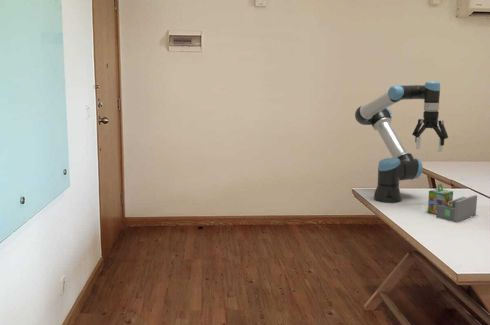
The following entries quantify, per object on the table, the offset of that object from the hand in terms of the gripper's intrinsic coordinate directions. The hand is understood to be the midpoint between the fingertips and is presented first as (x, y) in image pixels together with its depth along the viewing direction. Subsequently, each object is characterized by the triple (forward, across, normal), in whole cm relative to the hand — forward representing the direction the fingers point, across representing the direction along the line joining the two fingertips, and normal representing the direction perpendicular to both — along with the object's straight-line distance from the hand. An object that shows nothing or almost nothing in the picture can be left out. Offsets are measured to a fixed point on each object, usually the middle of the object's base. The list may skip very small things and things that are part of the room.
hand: (428, 150), depth 249 cm
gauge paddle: (+29, +24, -9) cm, 39 cm away
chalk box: (+30, +15, -9) cm, 35 cm away
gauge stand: (+30, +23, -8) cm, 39 cm away
